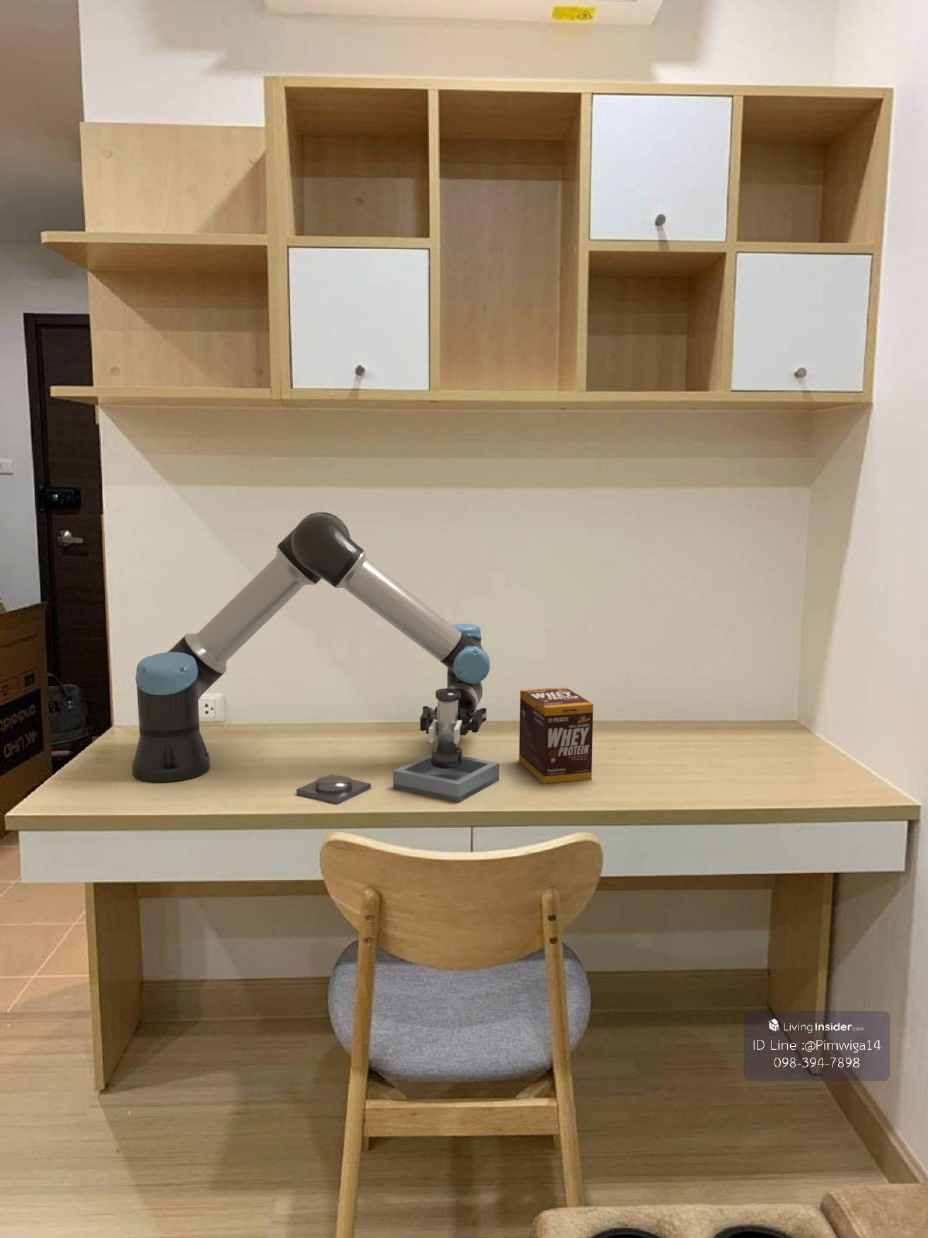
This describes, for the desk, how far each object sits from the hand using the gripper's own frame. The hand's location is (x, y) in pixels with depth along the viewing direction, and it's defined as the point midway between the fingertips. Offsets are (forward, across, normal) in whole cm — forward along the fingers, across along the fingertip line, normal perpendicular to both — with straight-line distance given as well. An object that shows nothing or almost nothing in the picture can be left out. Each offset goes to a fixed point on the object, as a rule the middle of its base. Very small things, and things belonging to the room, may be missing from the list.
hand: (443, 736), depth 174 cm
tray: (-5, 0, -11) cm, 13 cm away
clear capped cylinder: (-6, 0, -7) cm, 9 cm away
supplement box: (-17, -21, -12) cm, 29 cm away
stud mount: (+2, +21, -11) cm, 24 cm away
